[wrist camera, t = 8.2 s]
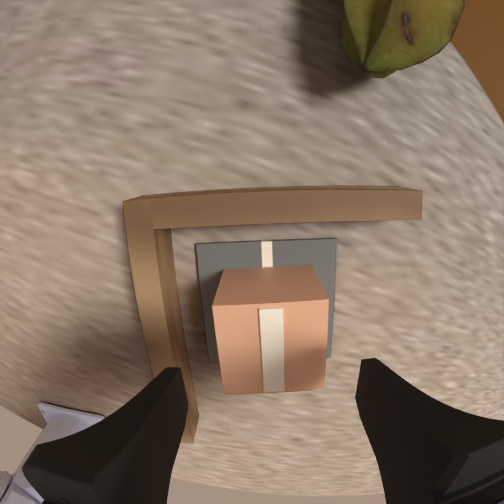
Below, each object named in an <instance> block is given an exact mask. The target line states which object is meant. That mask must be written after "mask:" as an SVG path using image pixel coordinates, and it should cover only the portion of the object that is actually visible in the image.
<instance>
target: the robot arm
mask: <svg viewBox="0 0 504 504" xmlns="http://www.w3.org/2000/svg"><path fill="white" fill-rule="evenodd" d="M355 398H356V403H357V407H358V411H359V415H360V418H361V421H362V424H363V426H364V429H365V431H366V434H367V436H368V439H369V441H370V444H371V446H372V449H373V451H374V454H375V456H376V459H377V462H378V466H379V470H380V474H381V478H382V483H383V488H384V493H385V498H386V504H504V421H502V420H495V419H489V418H484V417H480V416H476V415H473V414H469V413H466V412H463V411H461V410H458V409H455V408H453V407H450V406H448V405H446V404H444V403H442V402H440V401H438V400H436V399H434V398H432V397H430V396H428V395H427V394H425V393H423V392H422V391H420V390H419V389H417V388H416V387H414V386H413V385H411V384H410V383H408V382H407V381H405V380H404V379H403V378H401V377H400V376H399V375H397V374H396V373H395V372H393V371H392V370H391V369H390V368H388V367H387V366H386V365H384V364H383V363H382V362H381V361H379V360H378V359H376V358H371V359H363V360H361V366H360V373H359V379H358V385H357V390H356V396H355ZM188 406H189V404H188V399H187V395H186V390H185V385H184V380H183V376H182V371H181V367H166V368H165V369H164V370H163V371H162V372H161V373H160V374H158V375H157V376H156V377H155V378H154V379H153V380H152V381H151V382H150V383H149V384H148V385H147V386H146V387H145V388H144V389H143V390H142V391H140V392H139V393H138V394H137V395H136V396H135V397H133V398H132V399H131V400H130V401H129V402H127V403H126V404H125V405H124V406H122V407H121V408H120V409H118V410H117V411H115V412H114V413H112V414H111V415H109V416H108V417H106V418H105V417H103V416H101V415H96V414H91V413H86V412H81V411H76V410H71V409H67V408H63V407H58V406H54V405H50V404H46V403H42V402H39V403H38V408H39V410H40V412H41V414H42V416H43V418H44V419H45V421H46V423H47V425H46V427H45V428H44V429H43V431H42V433H41V434H40V436H39V437H38V438H37V440H36V441H35V443H34V444H33V446H32V447H31V449H30V450H29V452H28V453H27V455H26V456H25V458H24V459H23V461H22V462H21V464H20V465H19V467H18V468H17V470H16V471H15V473H14V474H13V475H10V474H9V473H8V472H6V471H3V472H2V471H0V504H167V497H168V490H169V484H170V478H171V473H172V469H173V465H174V461H175V458H176V455H177V452H178V448H179V445H180V442H181V439H182V435H183V432H184V428H185V425H186V419H187V413H188Z"/></svg>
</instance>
